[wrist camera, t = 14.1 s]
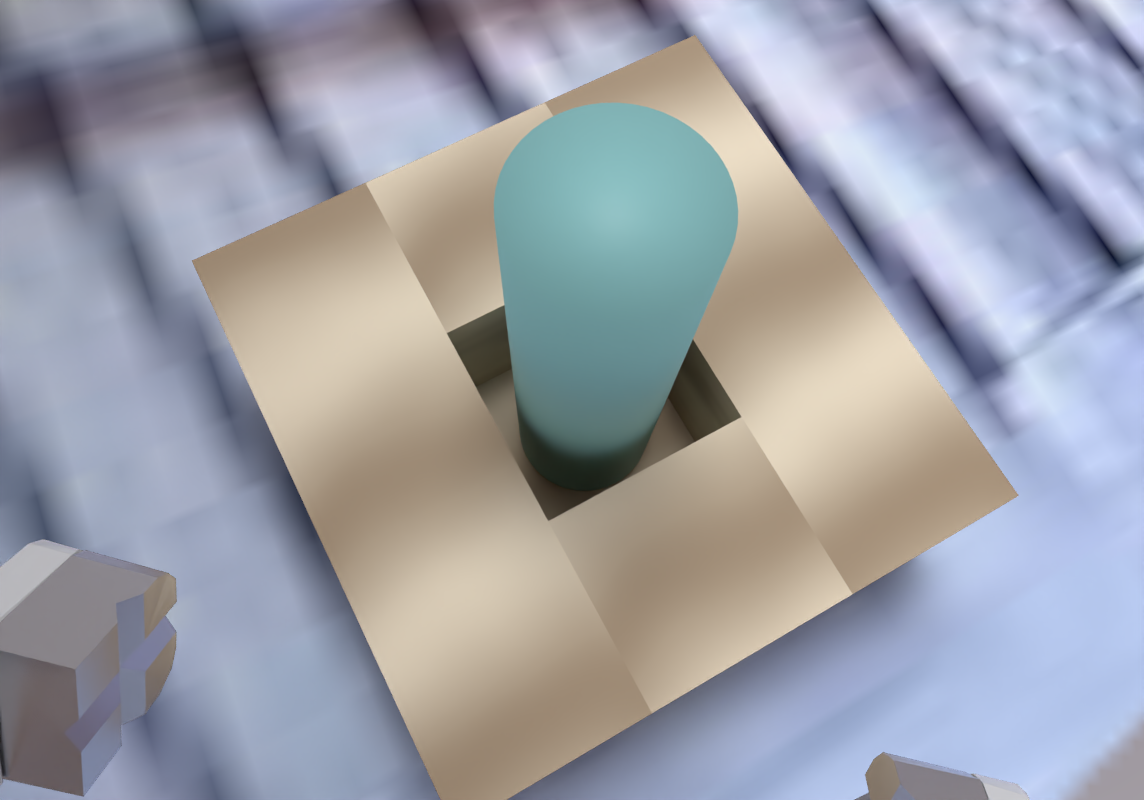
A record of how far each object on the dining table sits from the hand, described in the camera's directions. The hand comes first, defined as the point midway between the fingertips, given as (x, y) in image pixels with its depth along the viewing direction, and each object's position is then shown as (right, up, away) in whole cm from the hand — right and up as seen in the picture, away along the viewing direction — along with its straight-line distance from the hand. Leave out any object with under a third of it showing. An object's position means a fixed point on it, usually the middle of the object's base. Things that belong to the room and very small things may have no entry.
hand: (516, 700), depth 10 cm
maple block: (+1, +2, +16) cm, 16 cm away
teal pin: (+1, +3, +14) cm, 15 cm away
